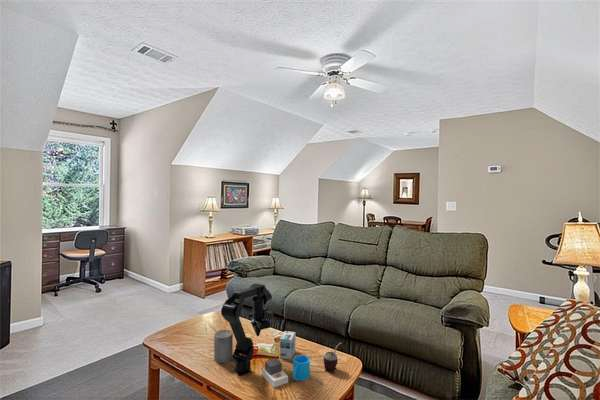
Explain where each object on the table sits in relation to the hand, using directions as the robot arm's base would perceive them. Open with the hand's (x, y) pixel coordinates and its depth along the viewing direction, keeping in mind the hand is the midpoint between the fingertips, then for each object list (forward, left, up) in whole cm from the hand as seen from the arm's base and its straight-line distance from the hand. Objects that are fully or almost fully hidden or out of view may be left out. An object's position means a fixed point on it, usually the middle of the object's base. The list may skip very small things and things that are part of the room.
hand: (257, 336), depth 170 cm
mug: (+10, -27, -12) cm, 31 cm away
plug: (-1, -20, -12) cm, 23 cm away
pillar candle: (-16, +9, -12) cm, 22 cm away
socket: (-1, -22, -12) cm, 25 cm away
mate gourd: (+27, -30, -12) cm, 42 cm away
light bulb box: (+16, -5, -12) cm, 21 cm away
